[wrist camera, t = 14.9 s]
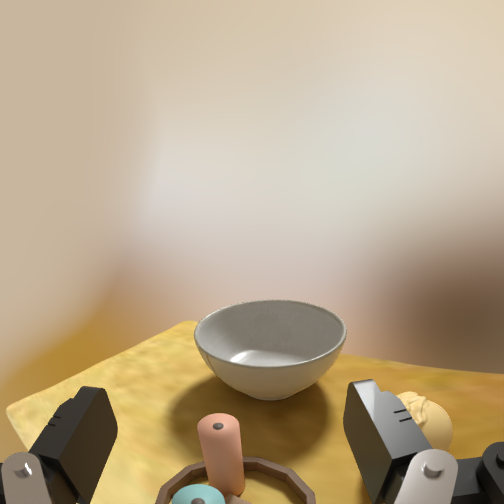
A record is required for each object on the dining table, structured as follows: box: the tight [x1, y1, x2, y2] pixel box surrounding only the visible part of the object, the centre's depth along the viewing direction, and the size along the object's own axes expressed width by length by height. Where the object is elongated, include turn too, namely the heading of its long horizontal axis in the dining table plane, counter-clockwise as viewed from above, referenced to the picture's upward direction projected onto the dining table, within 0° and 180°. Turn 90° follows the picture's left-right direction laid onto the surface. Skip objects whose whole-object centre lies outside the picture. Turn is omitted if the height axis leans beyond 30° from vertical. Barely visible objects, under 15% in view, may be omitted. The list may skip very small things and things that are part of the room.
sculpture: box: [397, 392, 453, 452], centre depth 33 cm, size 12×12×11 cm
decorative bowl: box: [194, 300, 347, 401], centre depth 57 cm, size 27×27×12 cm
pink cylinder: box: [197, 413, 245, 498], centre depth 32 cm, size 5×5×12 cm
